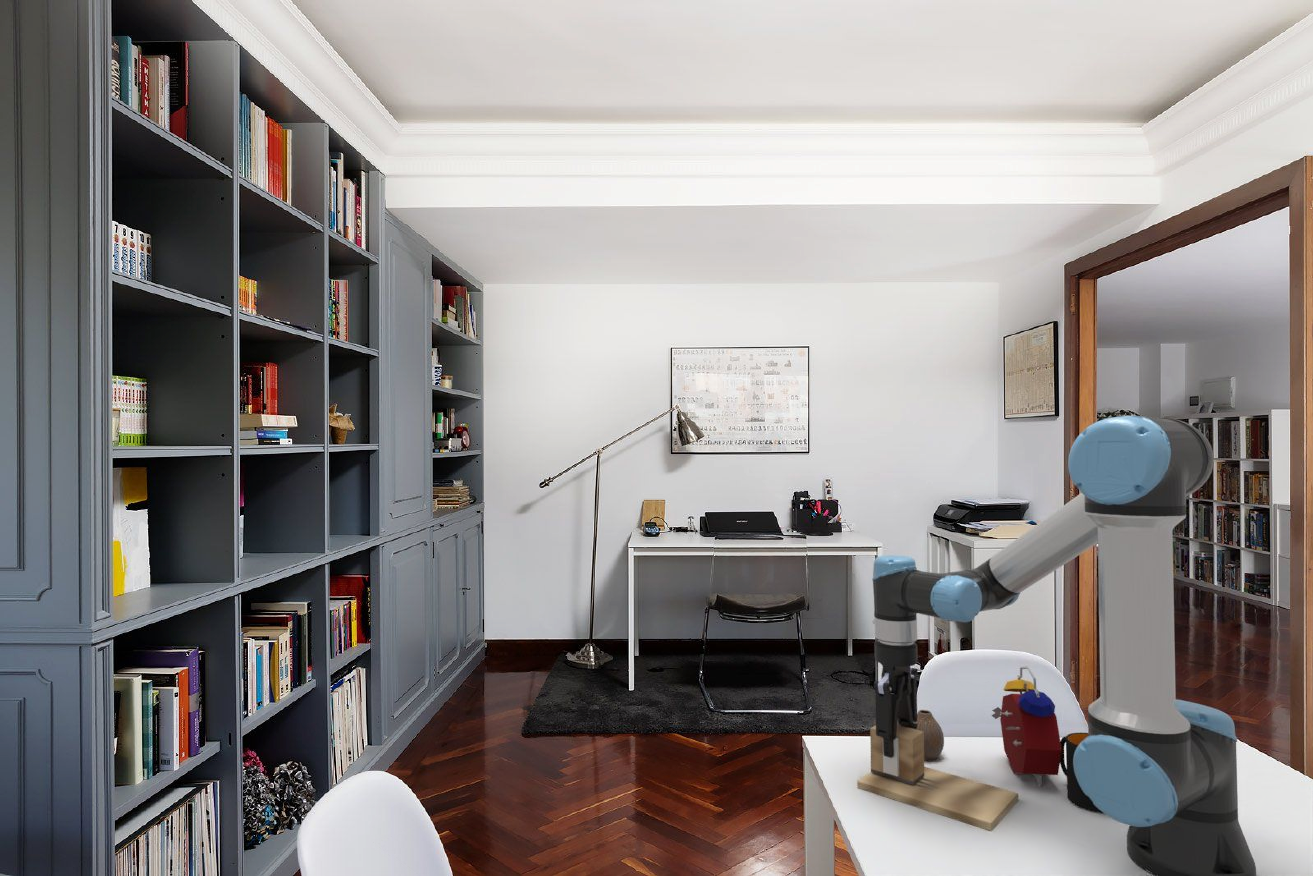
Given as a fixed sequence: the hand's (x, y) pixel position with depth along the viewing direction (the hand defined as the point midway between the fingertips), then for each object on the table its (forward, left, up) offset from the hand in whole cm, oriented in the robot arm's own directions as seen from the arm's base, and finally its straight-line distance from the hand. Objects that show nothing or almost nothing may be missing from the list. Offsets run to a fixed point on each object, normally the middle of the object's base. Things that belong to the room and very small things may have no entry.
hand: (898, 768), depth 133 cm
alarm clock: (-16, -19, -3) cm, 25 cm away
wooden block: (0, 0, -1) cm, 1 cm away
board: (-7, 0, -3) cm, 7 cm away
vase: (+1, -15, -3) cm, 15 cm away
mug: (-27, -16, -3) cm, 32 cm away
